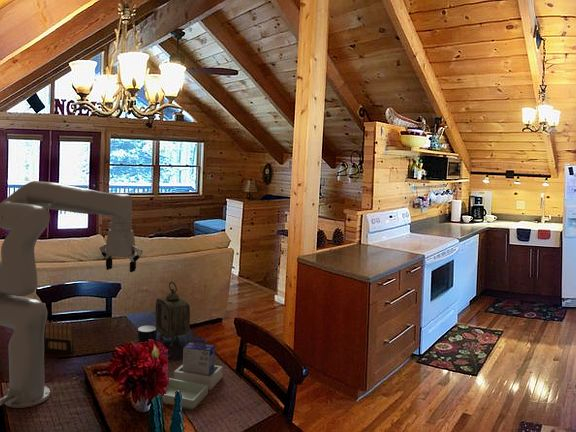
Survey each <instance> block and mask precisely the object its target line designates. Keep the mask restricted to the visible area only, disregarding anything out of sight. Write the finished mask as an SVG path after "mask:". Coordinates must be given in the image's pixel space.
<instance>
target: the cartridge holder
mask: <svg viewBox="0 0 576 432" xmlns="http://www.w3.org/2000/svg"><path fill="white" fill-rule="evenodd" d="M223 368H224V367H223V365H222V366H221V365H218V364H217V365H216V364H214V373H213V374H212V375H211V376H210V377H209V376H204V375H198V374H193V373H188V372H182V371H183V363H182V364H180V366H179V367H177V368H176V369H175V370H173V379H177V380H182V381H187V382H192V383H198V384H203V385H208V391H209V390H210V391H211V390H213V388H214V387H215V386H216V384H218V383H219V382H220V381H221V379H222V378H223V372H224V371H223Z"/></svg>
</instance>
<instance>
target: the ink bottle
mask: <svg viewBox="0 0 576 432" xmlns="http://www.w3.org/2000/svg"><path fill="white" fill-rule="evenodd" d="M157 333H158V330H157V328H156V325H150V324H149V325H142V326H139V327H138V328H137V340H136V341H135V342H134V344H135V343H138V342H145V341H147V340H148V339H153V340H155V341H158V342H159V343H160V341H159V339H157V336H158V334H157Z"/></svg>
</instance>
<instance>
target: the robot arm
mask: <svg viewBox="0 0 576 432" xmlns="http://www.w3.org/2000/svg"><path fill="white" fill-rule="evenodd" d="M132 206H133V197H132V196H131V195H129V194H126V193H115V194H114V193H109V192H103V191H99V190H94V189H90V188H84V187H78V186H73V185H69V184H63V183H59V182H54V181H53V182H51V181H39V180H32V181H29V182H28V183H26V184H24V185H22V186H21V187H20V188H18V189H16V191H14V192H13V193H12V194H10V195H9V196H8V197H6V198H5V199H4V200H2V201H1V202H0V229H3V230H5V231H10V232H9V233H8V234H7V235H6V237H5V238H4V240H3V242H2V244H1V246H0V247H1V248H0V254H1V255H0V256H1V257H0V259H1V260H0V326H1V327H5V328H9V329H13V334H12V335H11V337H10V338H9V342H8V349H7V351H8V382H9V383H8V385H9V388H7V389H6V393H5V395H4V396H2V397H0V407H1V406H2V405H5V406H7V407H8V408H13V409H25V408H29V407H34V406H37V405H40V404H42V403H43V402H45V401H46V400H48V399H49V398H50V397H51V389H50V388H49V387H48V386H45V384H46V383H45V382H46V381H45V350H44V349H45V331H46V323H47V320H48V309H47V306H46V305H45V303H44V302H42V301H40V300H38V299H36V298H33V297H28V296H31V295H32V294H34V293H35V292H36V290H37V288H38V281H39V280H38V273H37V266H36V265H37V264H36V256H35V247H36V246H35V245H36V244H37V241H38V239H39V238H40V236H42V234H43V232H44V231H45V230H46V228H48V225H49V224H50V220H51V215H50V214H51V213H50V211H49V210H54V211H62V212H70V213H75V214H86V215H99V216H108V217H109V216H110V222H108V223H107V226H108V227H109V229H108V232H107V235H106V242H105V243H106V244H104V245H102V246H101V247H99V250H100V252H101V256H102V257H104V260H105V268H106V271H109V270H111V269H113V258H112V257H119V258H128V259H129V261H130V262H129V272H130V273H133V272H135V271H136V269H137V261H138V260H139V259H140V258H141V256H142V254H143V252H144V251H143V250H142V249H140V247H138V246H136V240H135V234H134V233H135V232H134V230H133V229H132V226H133V225H132V218H133V215H132V214H133V213H132V212H133V211H132V210H133V207H132ZM135 254H136V255H135Z"/></svg>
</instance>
